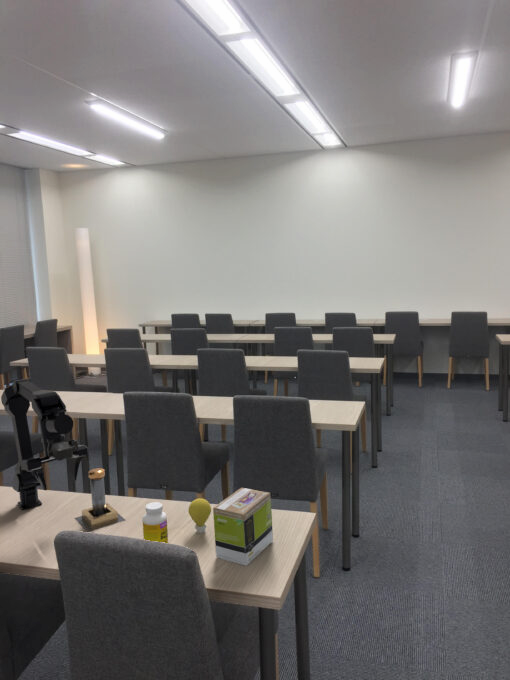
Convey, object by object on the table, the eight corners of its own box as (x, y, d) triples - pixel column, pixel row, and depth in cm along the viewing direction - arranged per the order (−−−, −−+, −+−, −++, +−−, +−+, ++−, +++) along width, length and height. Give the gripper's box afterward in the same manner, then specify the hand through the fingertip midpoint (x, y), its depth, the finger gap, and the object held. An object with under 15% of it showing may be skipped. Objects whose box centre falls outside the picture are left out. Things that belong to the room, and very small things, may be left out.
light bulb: (202, 523, 168) (201, 492, 167) (216, 530, 163) (215, 498, 162) (185, 531, 163) (183, 499, 162) (199, 539, 159) (197, 506, 157)
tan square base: (74, 520, 173) (73, 510, 173) (111, 509, 180) (110, 499, 180) (88, 534, 163) (87, 524, 163) (126, 522, 170) (125, 512, 170)
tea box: (243, 534, 161) (241, 485, 159) (273, 541, 156) (272, 492, 154) (214, 558, 148) (212, 506, 146) (246, 567, 143) (244, 513, 141)
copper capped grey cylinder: (89, 518, 172) (86, 470, 170) (104, 514, 175) (101, 467, 173) (95, 524, 168) (91, 475, 166) (110, 519, 171) (106, 471, 169)
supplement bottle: (163, 556, 150) (160, 511, 148) (140, 554, 151) (137, 510, 149) (171, 544, 156) (169, 501, 154) (149, 542, 158) (147, 499, 156)
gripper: (30, 442, 153) (39, 497, 153) (92, 426, 166) (101, 477, 166) (16, 441, 161) (25, 494, 161) (76, 427, 174) (84, 475, 174)
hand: (60, 485), depth 165 cm, fingers open, 9 cm apart
